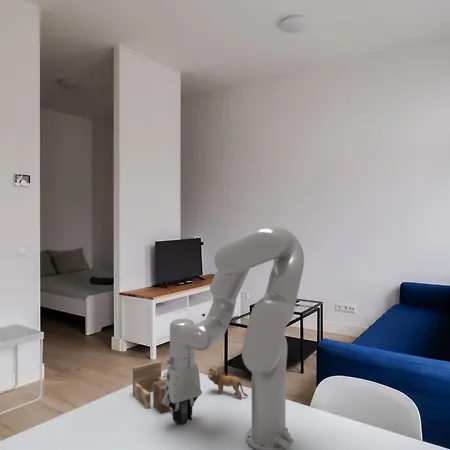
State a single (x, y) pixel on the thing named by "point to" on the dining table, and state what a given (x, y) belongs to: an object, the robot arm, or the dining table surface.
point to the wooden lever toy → (159, 395)
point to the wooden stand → (145, 381)
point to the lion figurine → (225, 381)
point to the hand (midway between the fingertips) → (182, 419)
